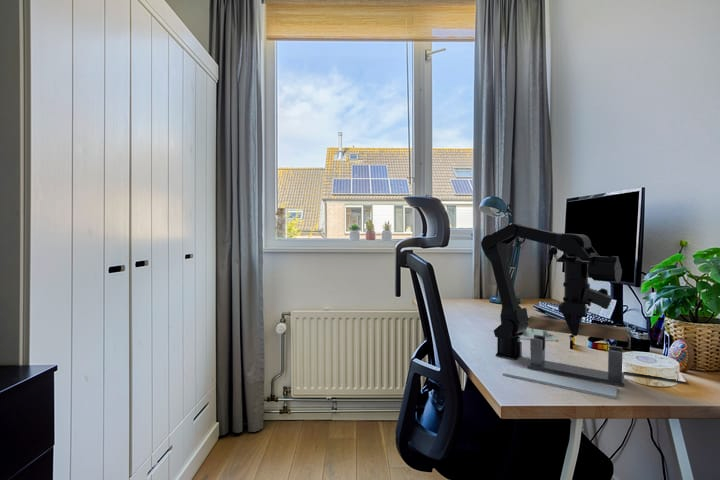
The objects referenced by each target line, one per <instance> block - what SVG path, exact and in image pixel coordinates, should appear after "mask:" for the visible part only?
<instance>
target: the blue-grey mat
mask: <svg viewBox="0 0 720 480" xmlns="http://www.w3.org/2000/svg"><path fill="white" fill-rule="evenodd" d="M502 376H506V377H511V378H514V379H519V380H524V381H528V382H534V383H539V384H543V385H547V386H552V387H556V388H557V387H558V388H561V389H562V388H563V389H567V390H572V391H576V392H581V393H585V394H586V393H587V394H590V395H595V396H598V397H599V396H601V397H603V398H608V399H612V400H613V399H615V400H617V391H618V389H617V386H615V385H610V384H605V383H600V382H595V381H590V380H585V379H580V378H575V377H570V376H564V375H563V376H562V375H559V374H554V373H549V372H544V371H539V370H534V369H529V368H524V367H517V366H514V365H513V366H512V365H508V366H507V367H506V369H505V370H504V371H503V372H502Z"/></svg>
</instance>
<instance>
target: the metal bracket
mask: <svg viewBox="0 0 720 480" xmlns="http://www.w3.org/2000/svg"><path fill="white" fill-rule="evenodd" d="M534 335H541V336H545V342H554V343H555V342H556V343H557V342H558V339H557V337H556V336H551V335H550V334H549V331H546V330H539V329H531V328H528V327H527V329H526V330H525V331H524V332H523V334H522V336H519V337H520V340H528V341H530V339H531V338H533V339H534Z"/></svg>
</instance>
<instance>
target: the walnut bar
mask: <svg viewBox="0 0 720 480" xmlns="http://www.w3.org/2000/svg"><path fill="white" fill-rule="evenodd" d="M528 318H529V320H528V328H531V329H539V330H546V331H547V332H554V333H562V334H570V335H572V334H571V331H570V329H569V327H568V324H567V322H566V320H565V319H556V318H548V317H539V316H532V315H530V316H528ZM577 336H583V337H584V336H585V337H591V338H596V339H597V338H598V339H604V340H605V339H606V340H614V341H619V342H627V343H628V341H629V328H628V327H624V326H616V325H615V326H614V325H608V324H601V323H600V324H599V323H590V322H583V321H581V322H580V325H579V329H578V333H577Z"/></svg>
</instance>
